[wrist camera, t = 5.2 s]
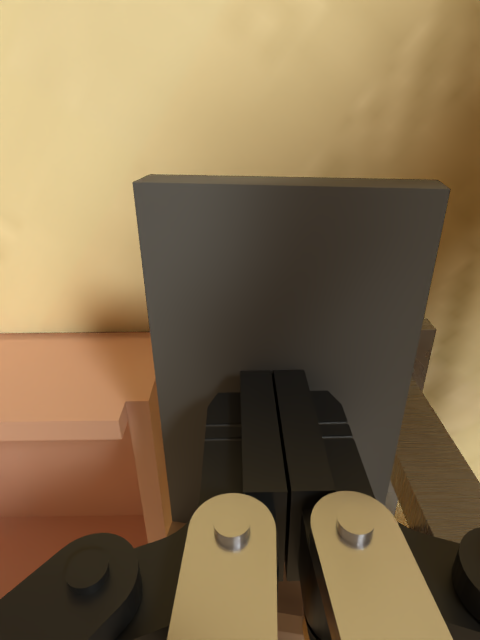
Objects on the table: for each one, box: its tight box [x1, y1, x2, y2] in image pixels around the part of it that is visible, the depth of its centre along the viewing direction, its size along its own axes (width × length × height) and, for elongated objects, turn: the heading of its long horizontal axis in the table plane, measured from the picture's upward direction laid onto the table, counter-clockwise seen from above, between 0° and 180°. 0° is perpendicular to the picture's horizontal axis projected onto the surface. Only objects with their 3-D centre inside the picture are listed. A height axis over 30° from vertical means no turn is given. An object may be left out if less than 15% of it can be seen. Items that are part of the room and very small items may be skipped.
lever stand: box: [385, 319, 480, 543], centre depth 18 cm, size 5×13×10 cm, turn 0°
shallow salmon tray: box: [0, 332, 172, 599], centre depth 19 cm, size 12×13×8 cm
